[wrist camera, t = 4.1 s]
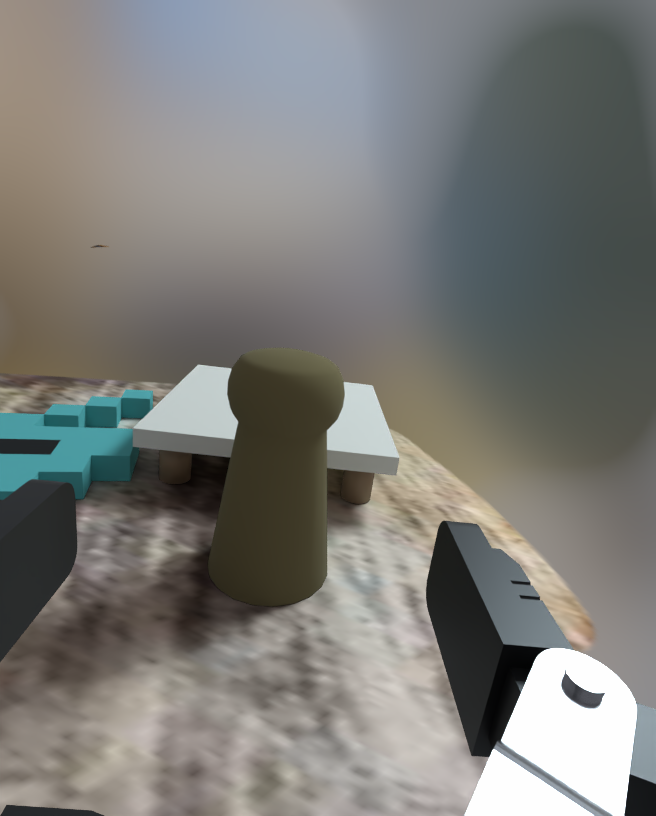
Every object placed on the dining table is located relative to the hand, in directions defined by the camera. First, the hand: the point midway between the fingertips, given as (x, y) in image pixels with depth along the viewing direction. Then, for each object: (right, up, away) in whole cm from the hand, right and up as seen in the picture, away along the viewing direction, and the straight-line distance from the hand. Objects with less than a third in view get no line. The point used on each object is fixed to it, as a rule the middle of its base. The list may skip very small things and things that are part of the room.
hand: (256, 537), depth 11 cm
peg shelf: (-3, 0, +27) cm, 27 cm away
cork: (-1, -5, +14) cm, 15 cm away
